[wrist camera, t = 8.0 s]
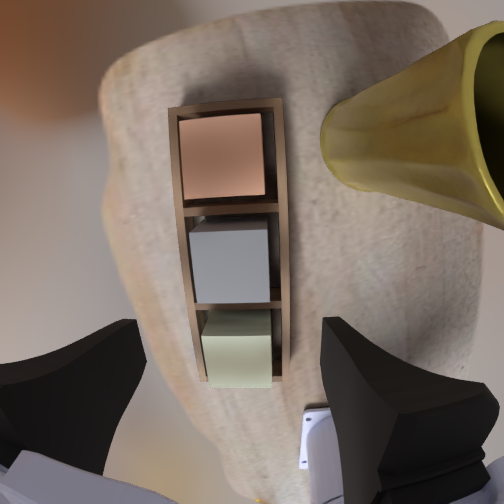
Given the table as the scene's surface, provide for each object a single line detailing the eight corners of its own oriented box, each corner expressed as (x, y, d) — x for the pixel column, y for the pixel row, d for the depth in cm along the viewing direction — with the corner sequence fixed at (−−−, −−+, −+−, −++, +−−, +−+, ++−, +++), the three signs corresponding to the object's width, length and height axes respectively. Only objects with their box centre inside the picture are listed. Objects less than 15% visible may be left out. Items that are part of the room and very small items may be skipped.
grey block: (269, 276, 20) (269, 302, 17) (209, 277, 21) (197, 303, 17) (267, 215, 19) (267, 229, 15) (204, 218, 20) (189, 232, 16)
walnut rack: (288, 364, 22) (290, 399, 18) (204, 365, 23) (194, 399, 19) (280, 104, 17) (283, 89, 13) (177, 113, 18) (155, 102, 14)
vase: (404, 100, 16) (574, 47, 3) (410, 191, 18) (587, 252, 4) (315, 96, 17) (413, -31, 3) (322, 192, 19) (445, 272, 5)
